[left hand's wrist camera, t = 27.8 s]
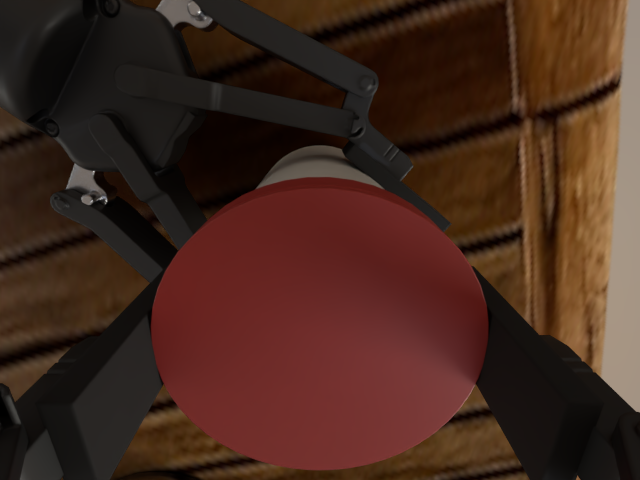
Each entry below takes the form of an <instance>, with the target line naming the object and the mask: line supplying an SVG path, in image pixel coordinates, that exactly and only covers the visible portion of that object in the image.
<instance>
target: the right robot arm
mask: <svg viewBox="0 0 640 480" xmlns="http://www.w3.org/2000/svg"><path fill="white" fill-rule="evenodd" d="M218 24H219V25H220V26H222V27H223V28H224V29H225V30H227V31H228V32H229V33H231V34H232V35H234V36H236V37H237V38H239V39H241V40H243V41H245V42H247V43H249V44H251V45H253V46H255V47H257V48H259V49H261V50H262V51H264V52H266V53H268V54H270V55H272V56H274V57H276V58H278V59H280V60H282V61H284V62H286V63H288V64H290V65H292V66H294V67H296V68H298V69H300V70H302V71H304V72H306V73H308V74H310V75H312V76H313V77H315V78H317V79H319V80H321V81H323V82H325V83H327V84H329V85H331V86H333V87H335V88H337V89H339V90H341V91H343V92H345V93H346V94H345V98H344V101H343V104H342V107H341V109H338V108H333V107H329V106H324V105H319V104H314V103H310V102H305V101H300V100H296V99H291V98H286V97H281V96H277V95H272V94H267V93H262V92H258V91H253V90H248V89H244V88H239V87H234V86H229V85H225V84H220V83H215V82H211V81H206V80H201V79H199V78H198V75H197V73H196V70H195V67H194V65H193V62H192V59H191V57H190V54H189V51H188V49H187V46H186V43H185V41H184V38H183V35H182V33H181V30H182V29H184V28H185V27H187V26H194V27H196V28H198V29H200V30H201V31H204V32H210V31H212V30H214V29H215V28H216V27H217V25H218ZM378 84H379V83H378V77H377V75H376V73H375V72H373V71H372V70H371V69H369V68H367V67H365V66H363V65H361V64H359V63H357V62H356V61H354V60H352V59H350V58H348V57H346V56H344V55H342V54H340V53H338V52H337V51H335V50H333V49H331V48H329V47H327V46H325V45H323V44H321V43H320V42H318V41H316V40H314V39H312V38H310V37H308V36H306V35H304V34H302V33H301V32H299V31H297V30H295V29H293V28H291V27H289V26H287V25H285V24H283V23H282V22H280V21H278V20H276V19H274V18H272V17H270V16H268V15H266V14H265V13H263V12H261V11H259V10H257V9H255V8H253V7H251V6H249V5H247V4H246V3H244V2H242V1H240V0H162V1H161V2H160V4H159V5H158V7H157V8H156V10H155V9H153V8H149V7H143V6H139V5H136V4H134V3H132V2H131V1H130V0H0V107H1V108H3V109H4V110H6V111H7V112H9V113H10V114H12V115H13V116H15V117H16V118H18V119H19V120H21V121H23V122H24V123H26V124H28V125H29V126H31V127H33V128H35V129H37V130H39V131H41V132H43V133H45V134H47V135H49V136H51V137H52V138H54V139H55V140H56V141H57V142H58V143H59V144H60V145H61V146H62V147H63V149H64V150H65V151H66V153H67V154H68V156H69V157H70V159H71V160H72V161H73V162H74V163H75V164H74V167H73V170H72V173H71V176H70V179H69V182H68V184H67V187H66V189H65V190H62V191H59V192H56V193H54V194H53V195H52V196H51V198H50V203H51V206H52V207H53V209H54V210H55V211H56V212H58V213H59V214H61V215H63V216H65V217H67V218H69V219H71V220H73V221H75V222H77V223H79V224H81V225H83V226H85V227H87V228H89V229H91V230H92V231H93V232H94V233H96V234H97V235H98V236H99V237H100V238H101V239H102V240H103V241H104V242H105V243H107V244H108V245H109V246H110V247H111V248H112V249H113V250H114V251H115V252H116V253H118V254H119V255H120V256H121V257H122V258H123V259H124V260H125V261H126V262H128V263H129V264H130V265H131V266H132V267H133V268H134V269H135V270H136V271H137V272H139V273H140V274H141V275H142V276H143V277H144V278H145V279H146V280H147V281H149V282H150V283H151V282H152V281H153V280H154V279H155V278H156V277H157V276H158V274H159V273H160V272H161V271H162V270H163V269H164V268H165V267H166V266H169V264H170V263H171V261H172V260H173V258H174V257H175V255H176V254H177V252H178V250H180V249H181V248H182V247H183V246H184V244H185V243H186V242H187V241H188V240H189V239H190V238H191V237H192V236H193V235H194V234H195V233H196V232H197V231H198V230H199V229H200V228H201V227H202V226H203V225H204V223H205V222H206V221H207V219H206V218H205V216H204V214H203V213H202V211H201V210H200V208H199V206H198V205H197V203H196V201H195V200H194V198H193V197H192V195H191V193H190V192H189V190H188V188H187V187H186V185H185V179H184V176H183V174H182V172H181V170H180V169H179V167H178V165H177V164H176V163H177V162H179V160H180V159H181V157H182V155H183V154H184V152H185V150H186V147H187V143H188V139H189V137H190V136H191V135H192V134H193V133H194V132H195V131H196V130H197V129H199V128H200V127H201V125H202V124H203V122H204V120H205V119H206V117H207V116H208V115H207V114H206V113H205V112H206V110H212V111H219V112H224V113H229V114H234V115H239V116H244V117H248V118H253V119H258V120H263V121H268V122H273V123H277V124H282V125H287V126H292V127H297V128H302V129H307V130H311V131H316V132H321V133H326V134H331V135H336V136H340V137H345V138H347V139H348V140H349V142H348V143H347V144H346V146H345V147H344V148H343V149H342V152H343V154H344V156H345V157H346V158H347V159H348V160H350V161H351V162H352V163H353V164H354V165H356V166H357V167H358V168H359V169H361V170H362V171H363V172H364V173H366V174H367V175H368V176H369V177H371V178H372V179H373V180H374V181H375V182H377V183H378V184H379V185H380V186H382V187H383V188H384V189H385V190H387V191H389V192H391V193H393V194H395V195H397V196H399V197H400V198H402V199H404V200H406V201H407V202H409V203H411V204H412V205H414V206H415V207H416V208H418V209H419V210H420V211H421V212H423V213H424V214H425V215H426V216H428V217H429V218H430V219H431V220H432V221H433V222H434V223H435V224H436V225H437V226H438V227H439V228H440V229H441V230H442V231H443V232H444V231H445V230H446V229H447V228H448V227H449V226H450V225H451V223H450V222H449V221H448V220H447V219H445V218H444V217H443V216H442V215H441V214H440V213H439V212H438V211H437V210H435V209H434V208H433V207H432V206H431V205H429V204H428V203H427V202H426V201H424V200H423V199H422V198H421V197H420V196H418V195H417V194H416V193H415V192H414V191H412V190H411V189H410V188H409V187H408V186H406V185H405V184H404V183H403V182H402V181H401V180H402V179H403V178H404V177H405V176H406V174H407V173H408V172H409V171H410V170H411V169H412V168H413V165H412V163H411V161H410V159H409V157H408V156H407V155H406V154H404V153H403V152H402V151H401V150H400V149H398V148H397V147H396V146H395V145H394V144H393V143H391V142H390V141H389V140H388V139H387V138H386V137H384V136H383V135H382V134H381V133H380V132H379V131H377V130H376V129H375V128H374V127H373V126H372V125H371V123H370V121H369V118H368V111H369V107H370V104H371V101H372V99H373V96H374V93H375V91H376V90H377V88H378ZM103 172H121V174H122V175H123V177H124V178H125V180H126V181H127V183H128V184H129V186H130V187H131V189H132V190H133V192H134V193H135V195H136V196H137V197H138V199H140V200H141V201H142V202H145V203H147V204H148V205H149V206H150V208H151V209H152V211H153V212H154V214H155V215H156V217H157V218H158V220H159V221H160V223H161V224H162V226H163V227H164V229H165V230H166V232H167V233H168V235H169V236H170V238H171V239H172V241H173V242H174V244H175V245H176V247H177V248H178V250H177V249H176V248H175V247H174V246H173V245H172V244H171V243H170V242H169V241H167V240H166V239H165V238H164V237H163V236H162V235H161V234H160V233H159V232H158V231H157V230H156V229H155V228H154V227H153V226H152V225H151V224H150V223H149V222H148V221H147V220H146V219H145V218H144V217H143V216H142V215H141V214H140V213H139V212H137V211H136V210H135V209H134V208H133V207H132V206H131V205H130V204H128V203H127V202H126V201H124V200H123V199H121V198H120V197H118V196H116V193H117V188H116V187H115V186H113V185H110V184H109V183H108V182H107V181H106V180H105V178H104V175H103Z"/></svg>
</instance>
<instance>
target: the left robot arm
mask: <svg viewBox="0 0 640 480" xmlns="http://www.w3.org/2000/svg"><path fill="white" fill-rule="evenodd" d="M167 267H168V266H166V267H165V268H164V269H163V270H162V271H161V272H160V273H159V274H158V276H157V277H156V278H155V279H154V280H153V281H152V282H151V283H150V284H149V285H148V286H147V287H146V288H145V289H144V290H143V291H142V292H141V293H140V294H139V295H138V296H137V297H136V298H135V300H134V301H133V302H132V303H131V304H130V305H129V306H128V307H127V308H126V309H125V310H124V311H123V312H122V313H121V314H120V315H119V316H118V317H117V318H116V319H115V320H114V321H113V322H112V324H111V325H110V326H109V327H108V328H107V329H106V330H105V331H104V332H103V333H102V334H101V335H100V336H90V337H88V338H86V339H85V340H83V341H82V342H80V343H78V344H77V345H75V346H73V347H72V348H71V349H70V350H69V351H68V352H67V353H65V354H64V355H63V356H62V357H61V358H60V359H59V362H58V363H55V364H54V365H53V366H52V367H51V368H50V369H49V370H48V371H47V374H44V375H43V376H42V377H41V378H40V379H39V380H38V381H37V382H36V383H35V384H34V385H33V386H32V387H31V388H30V389H28V390H27V391H26V392H25V393H24V394H23V395H22V396H21V397H20V398H19V399H18V400H17V401H16V402H14V399H13V397H12V394H11V392H10V389H9V387H7V386H6V385H4V384H2V383H0V480H60V479H61V478H62V476H63V479H64V480H110V478H111V476H112V474H113V473H114V471H115V469H116V467H117V466H118V464H119V462H120V460H121V458H122V457H123V455H124V453H125V451H126V450H127V448H128V446H129V444H130V442H131V441H132V439H133V437H134V435H135V434H136V432H137V430H138V428H139V426H140V425H141V423H142V421H143V419H144V418H145V416H146V414H147V412H148V410H149V409H150V407H151V405H152V403H153V402H154V400H155V398H156V396H157V394H158V393H159V391H160V389H161V387H162V386H163V384H164V383H163V381H162V379H161V376H160V374H159V371H158V368H157V364H156V360H155V355H154V350H153V345H152V339H151V327H150V326H151V316H152V307H153V303H154V300H155V296H156V292H157V289H158V286H159V284H160V282H161V280H162V277H163V275H164V273H165V271H166V269H167ZM471 267H472V268H473V270H474V272H475V275H476V277H477V279H478V281H479V283H480V285H481V288H482V291H483V295H484V298H485V301H486V305H487V313H488V321H489V334H488V343H487V348H486V353H485V358H484V363H483V367H482V370H481V373H480V375H479V378H478V380H477V382H476V384H477V386H478V388H479V390H480V392H481V393H482V395H483V397H484V399H485V400H486V402H487V404H488V406H489V408H490V409H491V411H492V413H493V415H494V417H495V418H496V420H497V422H498V424H499V425H500V427H501V429H502V431H503V433H504V434H505V436H506V438H507V440H508V441H509V443H510V445H511V447H512V449H513V450H514V452H515V454H516V456H517V457H518V459H519V461H520V463H521V465H522V466H523V468H524V470H525V472H526V473H527V475H528V477H529V479H530V480H576V478H577V475H578V477H579V478H580V479H581V480H640V413H639V412H636V411H635V410H634V409H633V408H632V407H631V406H630V405H628V404H627V403H626V402H625V401H624V400H623V399H622V398H621V397H620V396H619V395H618V394H617V393H616V392H615V391H614V390H613V389H612V388H611V387H610V386H609V385H608V384H607V383H606V382H605V381H604V380H603V379H602V378H601V377H600V376H598V375H597V374H596V373H593V371H592V369H591V368H590V367H589V366H588V365H587V364H586V363H585V362H582V361H581V358H580V357H579V356H578V355H577V354H576V353H575V352H574V351H573V350H572V349H571V348H570V347H568V346H567V345H565V344H564V343H562V342H560V341H559V340H557V339H555V338H554V337H552V336H550V335H539V334H538V333H537V332H536V331H535V330H534V329H533V328H532V327H531V326H530V325H529V324H528V323H527V322H526V321H525V320H524V319H523V318H522V317H521V316H520V315H519V314H518V312H517V311H516V310H515V309H514V308H513V307H512V306H511V305H510V304H509V303H508V302H507V301H506V300H505V299H504V298H503V297H502V296H501V295H500V294H499V293H498V292H497V291H496V289H495V288H494V287H493V286H492V285H491V284H490V283H489V282H488V281H487V280H486V279H485V278H484V277H483V276H482V275H481V274H480V273H479V272H478V271H477V270H476V269H475V268H474V267H473V266H471ZM119 480H196V479H193V478H190V477H187V476H184V475H179V474H174V473H167V472H145V473H138V474H133V475H130V476H126V477H124V478H121V479H119Z"/></svg>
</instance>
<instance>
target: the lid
mask: <svg viewBox="0 0 640 480" xmlns="http://www.w3.org/2000/svg"><path fill="white" fill-rule="evenodd" d="M150 327H151V339H152V345H153V350H154V355H155V360H156V364H157V368H158V371H159V374H160V376H161V379H162V381H163V383H164V385H165V387H166V388H167V390H168V392H169V394H170V396H171V397H172V398H173V400H174V401H175V402H176V404H177V405H178V407H179V408H180V409H181V410H182V412H183V413H184V414H185V415H186V416H187V417H188V418H189V419H190V420H191V421H192V422H193V423H194V424H195V425H196V426H198V427H199V428H200V429H201V430H202V431H204V432H205V433H206V434H207V435H209V436H210V437H212V438H213V439H215V440H216V441H218V442H219V443H221V444H222V445H224V446H226V447H228V448H230V449H232V450H234V451H236V452H238V453H240V454H243V455H245V456H248V457H250V458H253V459H255V460H258V461H262V462H266V463H269V464H273V465H277V466H283V467H288V468H294V469H306V470H334V469H344V468H352V467H357V466H362V465H367V464H371V463H374V462H377V461H381V460H384V459H387V458H389V457H392V456H394V455H397V454H399V453H402V452H404V451H406V450H408V449H409V448H411V447H413V446H415V445H417V444H419V443H420V442H422V441H423V440H425V439H426V438H428V437H429V436H431V435H432V434H434V433H435V432H436V431H437V430H438V429H440V428H441V427H442V426H443V425H444V424H445V423H447V422H448V421H449V420H450V418H451V417H452V416H453V415H454V414H455V413H456V412H457V411H458V410H459V409H460V407H461V406H462V405H463V403H464V402H465V400H466V399H467V398H468V396H469V395H470V393H471V391H472V389H473V388H474V386H475V384H476V382H477V380H478V378H479V375H480V373H481V370H482V367H483V363H484V358H485V353H486V348H487V343H488V334H489V321H488V313H487V305H486V301H485V298H484V295H483V291H482V288H481V285H480V283H479V281H478V279H477V277H476V275H475V272H474V270H473V268H472V267H471V265H470V264H469V262H468V261H467V259H466V258H465V256H464V255H463V254H462V252H461V251H460V249H459V248H458V247H457V246H456V245H455V244H454V243H453V242H452V241H451V240H450V239H449V238H448V237H447V236H446V235H445V233H444V232H443V231H442V230H441V229H440V228H439V227H438V226H437V225H436V224H435V223H434V222H433V221H432V220H431V219H430V218H429V217H428V216H426V215H425V214H424V213H423V212H421V211H420V210H419V209H418V208H416V207H415V206H414V205H412V204H411V203H409V202H407V201H406V200H404V199H402V198H400V197H399V196H397V195H395V194H393V193H391V192H389V191H386V190H384V189H381V188H379V187H376V186H374V185H370V184H366V183H363V182H359V181H355V180H350V179H342V178H334V177H305V178H297V179H290V180H284V181H280V182H277V183H273V184H269V185H266V186H263V187H260V188H258V189H256V190H253V191H251V192H249V193H246V194H244V195H242V196H240V197H239V198H237V199H235V200H234V201H232V202H230V203H229V204H227V205H226V206H224V207H223V208H222V209H221V210H219V211H218V212H217V213H216V214H214V215H213V216H212V217H211V218H209V219H208V220H207V221H206V222H205V223H204V225H203V226H202V227H201V228H200V229H199V230H198V231H197V232H196V233H195V234H194V235H193V236H192V237H191V238H190V239H189V240H188V241H187V242H186V243H185V244H184V246H183V247H182V248H181V249H180V250H179V251H178V252H177V254H176V255H175V257H174V258H173V260H172V261H171V263H170V264H169V266H168V267H167V269H166V271H165V273H164V275H163V277H162V280H161V282H160V284H159V286H158V289H157V292H156V296H155V300H154V303H153V307H152V316H151V326H150Z"/></svg>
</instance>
